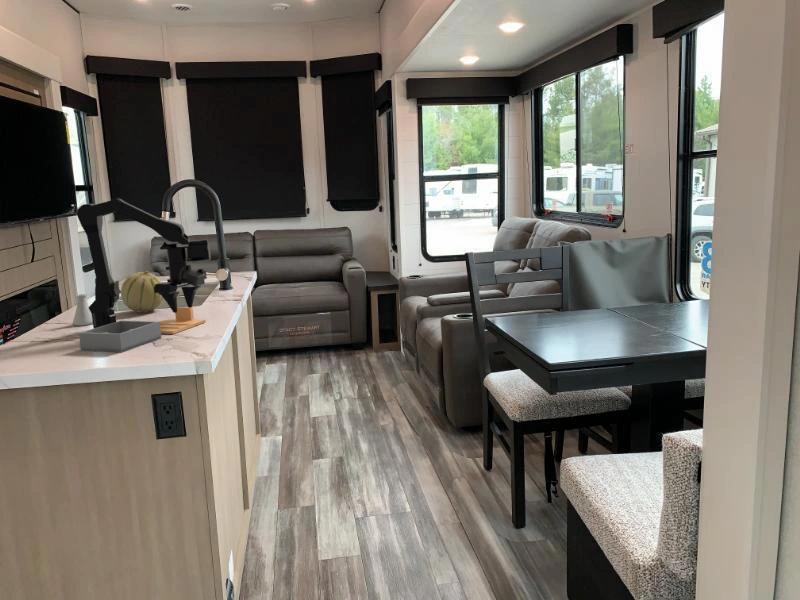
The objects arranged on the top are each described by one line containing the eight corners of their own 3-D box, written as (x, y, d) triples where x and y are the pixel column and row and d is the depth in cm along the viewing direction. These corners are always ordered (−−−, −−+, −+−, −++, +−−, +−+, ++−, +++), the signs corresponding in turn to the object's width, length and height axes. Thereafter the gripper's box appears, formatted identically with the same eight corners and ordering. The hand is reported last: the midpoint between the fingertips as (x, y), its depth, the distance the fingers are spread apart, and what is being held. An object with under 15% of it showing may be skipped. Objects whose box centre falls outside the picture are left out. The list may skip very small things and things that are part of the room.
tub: (81, 350, 175) (78, 332, 174) (122, 336, 190) (120, 320, 189) (122, 352, 171) (119, 334, 170) (161, 338, 186) (159, 321, 185)
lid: (133, 334, 195) (131, 317, 194) (168, 322, 210) (166, 306, 209) (173, 335, 190) (171, 318, 189) (206, 323, 206) (204, 307, 205)
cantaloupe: (131, 309, 237) (126, 269, 235) (171, 306, 238) (166, 267, 236) (116, 317, 223) (111, 274, 220) (159, 314, 224) (154, 272, 221)
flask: (67, 326, 211) (63, 296, 209) (85, 321, 218) (81, 292, 216) (84, 326, 208) (80, 296, 207) (101, 322, 215) (97, 293, 213)
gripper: (180, 266, 192) (185, 316, 194) (216, 258, 209) (220, 305, 212) (149, 266, 195) (155, 316, 198) (187, 259, 213) (192, 304, 215)
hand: (182, 310), depth 206 cm, fingers open, 7 cm apart
